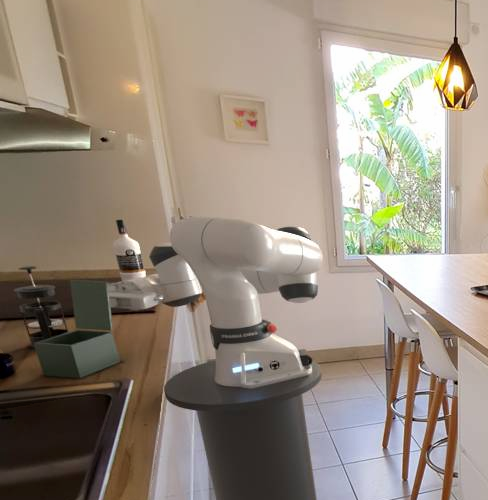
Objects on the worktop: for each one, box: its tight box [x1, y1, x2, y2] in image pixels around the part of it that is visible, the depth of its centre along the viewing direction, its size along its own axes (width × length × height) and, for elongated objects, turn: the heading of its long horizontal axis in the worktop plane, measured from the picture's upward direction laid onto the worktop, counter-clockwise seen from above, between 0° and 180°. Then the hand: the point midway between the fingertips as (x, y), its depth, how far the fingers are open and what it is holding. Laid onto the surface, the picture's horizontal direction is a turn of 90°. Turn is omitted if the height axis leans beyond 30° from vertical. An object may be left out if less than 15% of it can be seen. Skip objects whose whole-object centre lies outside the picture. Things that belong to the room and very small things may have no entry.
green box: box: [34, 329, 121, 379], centre depth 145 cm, size 12×10×9 cm
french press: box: [13, 265, 69, 349], centre depth 159 cm, size 12×9×23 cm
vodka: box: [112, 219, 147, 281], centre depth 214 cm, size 9×9×30 cm
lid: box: [69, 279, 114, 332], centre depth 147 cm, size 13×10×1 cm
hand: (94, 305), depth 148 cm, fingers closed
